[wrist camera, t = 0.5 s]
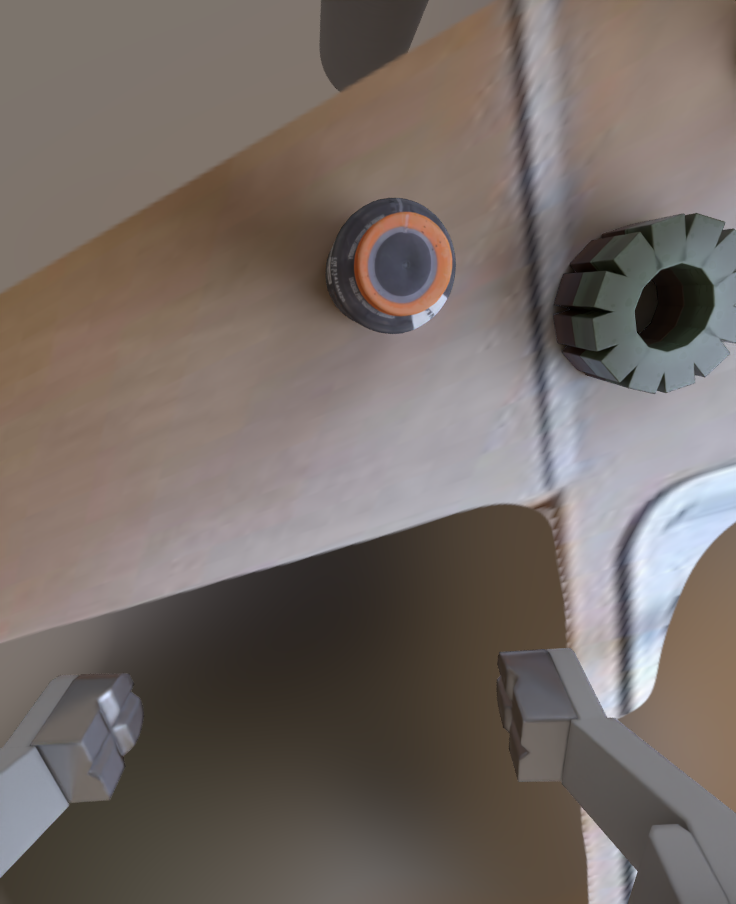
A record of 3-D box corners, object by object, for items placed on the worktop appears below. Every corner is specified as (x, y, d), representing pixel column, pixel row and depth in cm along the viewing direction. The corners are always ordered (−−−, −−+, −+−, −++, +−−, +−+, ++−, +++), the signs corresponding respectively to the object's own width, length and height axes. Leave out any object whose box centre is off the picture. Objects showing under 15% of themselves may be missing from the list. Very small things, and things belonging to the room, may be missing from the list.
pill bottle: (431, 300, 31) (496, 306, 20) (349, 339, 31) (369, 364, 20) (396, 206, 29) (448, 156, 18) (308, 248, 29) (307, 223, 18)
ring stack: (542, 253, 30) (582, 246, 26) (688, 205, 30) (753, 190, 26) (565, 397, 34) (604, 413, 29) (697, 353, 34) (756, 363, 29)
